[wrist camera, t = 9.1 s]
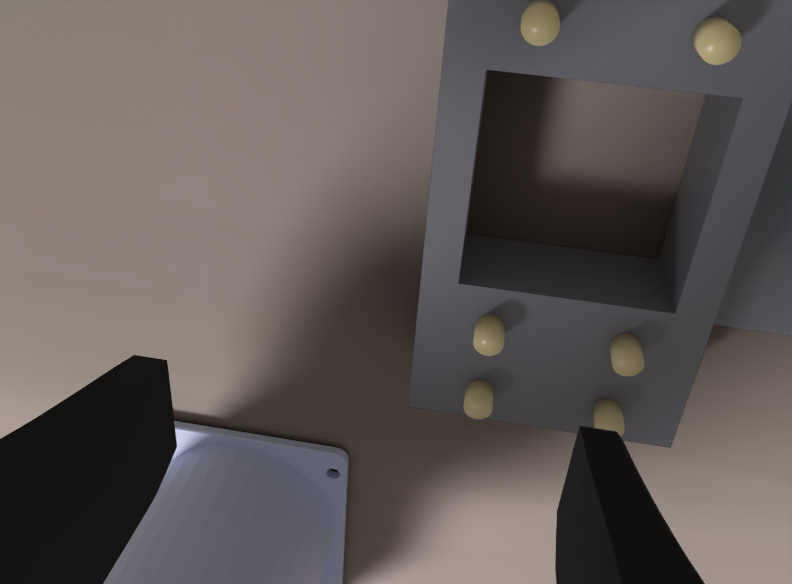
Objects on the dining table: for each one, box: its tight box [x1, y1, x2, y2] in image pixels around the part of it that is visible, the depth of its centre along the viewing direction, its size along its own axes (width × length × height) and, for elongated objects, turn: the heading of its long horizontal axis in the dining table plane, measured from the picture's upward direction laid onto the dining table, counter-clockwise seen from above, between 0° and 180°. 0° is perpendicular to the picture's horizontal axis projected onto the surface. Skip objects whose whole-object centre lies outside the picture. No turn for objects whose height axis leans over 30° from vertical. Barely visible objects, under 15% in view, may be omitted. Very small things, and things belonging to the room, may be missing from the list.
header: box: [408, 0, 792, 448], centre depth 19 cm, size 14×8×4 cm, turn 176°
